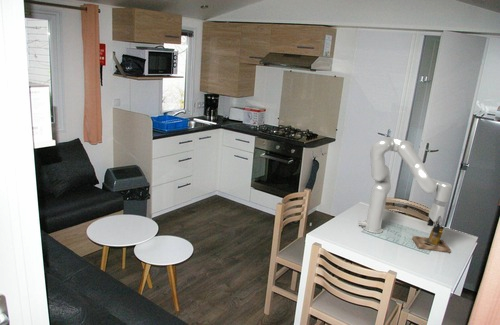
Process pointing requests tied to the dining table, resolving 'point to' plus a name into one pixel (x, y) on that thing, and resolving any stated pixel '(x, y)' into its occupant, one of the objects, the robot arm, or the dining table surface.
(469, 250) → the dining table surface
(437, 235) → the condiment
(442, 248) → the serving tray
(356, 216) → the dining table surface
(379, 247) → the dining table surface
